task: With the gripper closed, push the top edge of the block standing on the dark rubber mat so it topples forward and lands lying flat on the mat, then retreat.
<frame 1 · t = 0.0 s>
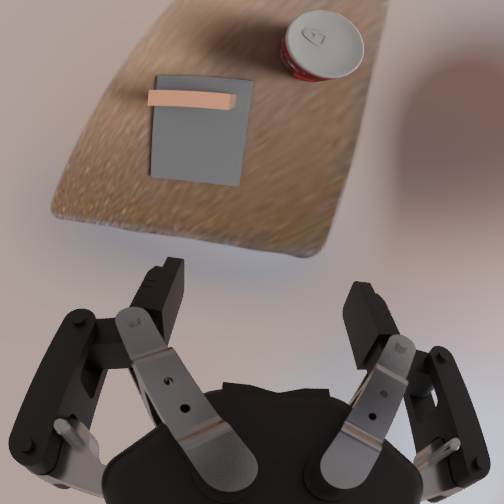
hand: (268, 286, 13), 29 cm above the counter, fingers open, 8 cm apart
canned food: (308, 55, 31), on the counter
mat: (199, 129, 37), on the counter
block: (201, 97, 34), point 1 cm above the counter, touching mat
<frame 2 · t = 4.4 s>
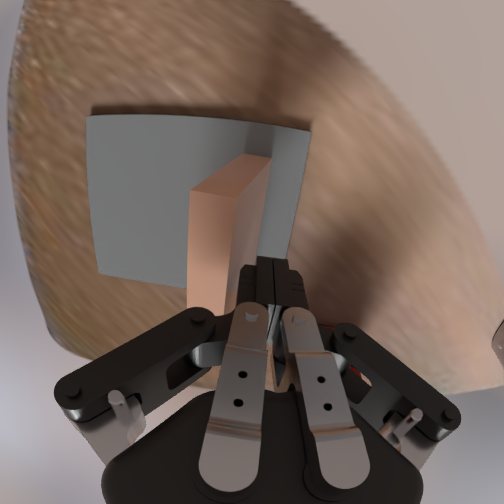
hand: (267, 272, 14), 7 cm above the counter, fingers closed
mat: (184, 208, 20), on the counter
block: (248, 221, 20), point 1 cm above the counter, tilted 11°, touching gripper, mat
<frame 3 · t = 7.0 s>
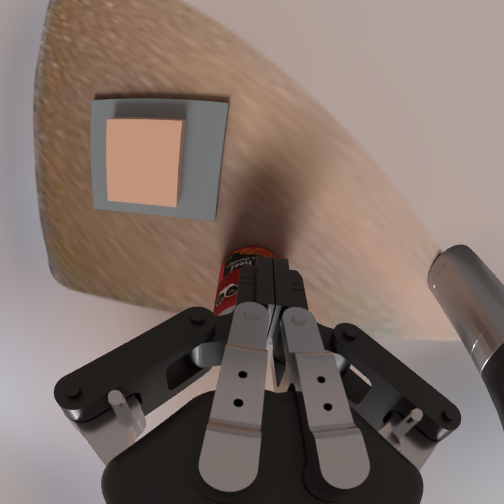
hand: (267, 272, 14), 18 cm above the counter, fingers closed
canned food: (251, 270, 37), on the counter
mat: (152, 157, 29), on the counter
block: (180, 163, 28), point 1 cm above the counter, tilted 90°, touching mat
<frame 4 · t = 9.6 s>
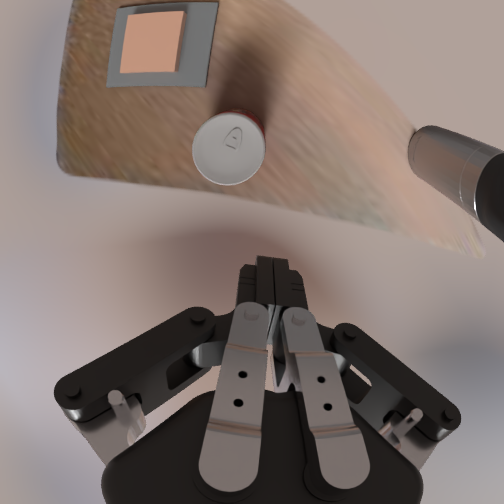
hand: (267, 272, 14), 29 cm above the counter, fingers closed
canned food: (236, 135, 38), on the counter
mat: (159, 43, 31), on the counter
block: (180, 41, 30), point 1 cm above the counter, tilted 90°, touching mat
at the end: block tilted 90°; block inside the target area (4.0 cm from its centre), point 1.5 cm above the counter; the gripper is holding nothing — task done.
